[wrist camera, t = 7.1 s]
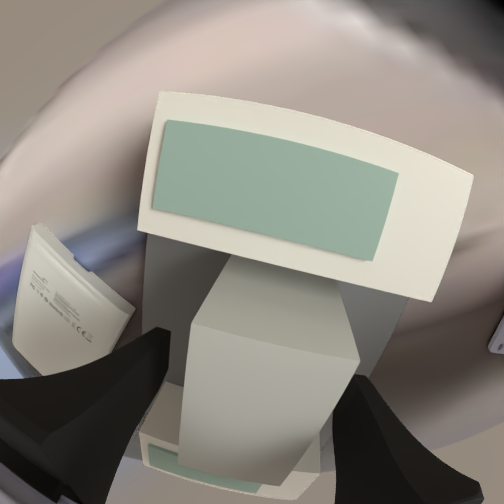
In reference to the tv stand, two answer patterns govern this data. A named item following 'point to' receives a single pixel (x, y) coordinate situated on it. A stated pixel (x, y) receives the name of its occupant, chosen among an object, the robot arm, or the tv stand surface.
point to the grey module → (263, 370)
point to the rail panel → (283, 235)
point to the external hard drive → (63, 308)
